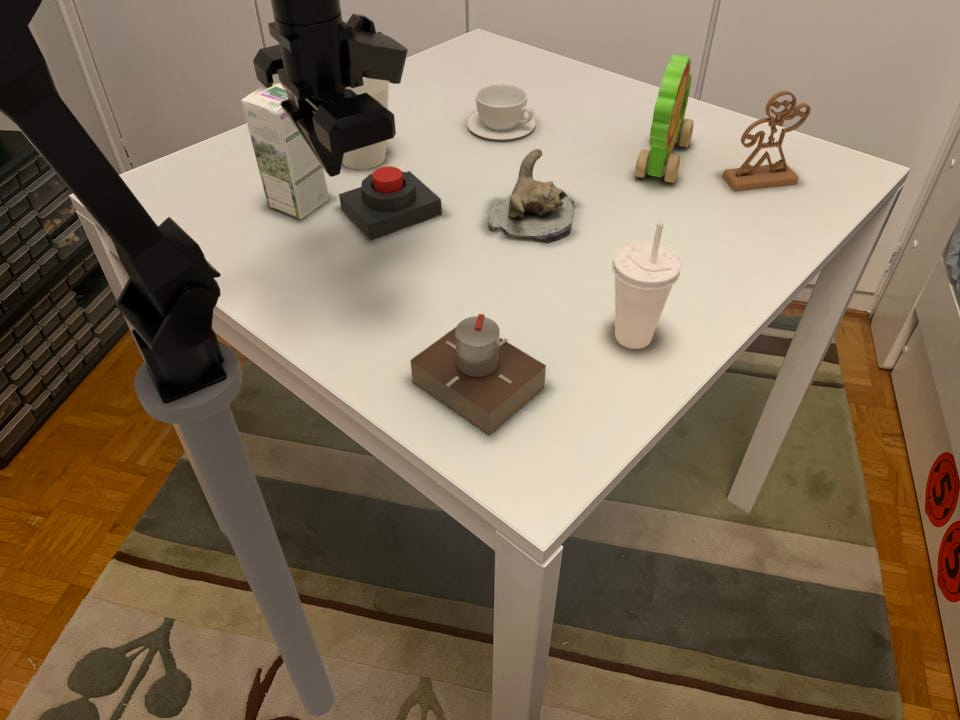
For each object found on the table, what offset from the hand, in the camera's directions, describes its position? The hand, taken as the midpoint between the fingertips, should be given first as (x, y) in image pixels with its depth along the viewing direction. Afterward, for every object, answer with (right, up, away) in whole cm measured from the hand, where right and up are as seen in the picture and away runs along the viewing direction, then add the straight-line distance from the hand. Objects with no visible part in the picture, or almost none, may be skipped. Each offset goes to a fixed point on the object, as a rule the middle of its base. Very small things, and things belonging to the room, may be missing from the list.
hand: (333, 174), depth 75 cm
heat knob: (+14, -19, -5) cm, 24 cm away
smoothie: (+30, -16, +2) cm, 35 cm away
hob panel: (+14, -21, -3) cm, 26 cm away
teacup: (+18, +15, +34) cm, 42 cm away
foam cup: (-1, +9, +28) cm, 30 cm away
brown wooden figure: (+51, +5, +23) cm, 57 cm away
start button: (+4, +2, +16) cm, 16 cm away
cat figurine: (+21, -1, +17) cm, 27 cm away
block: (+4, 0, +18) cm, 19 cm away
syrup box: (-8, +1, +20) cm, 22 cm away
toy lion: (+39, +8, +26) cm, 48 cm away
